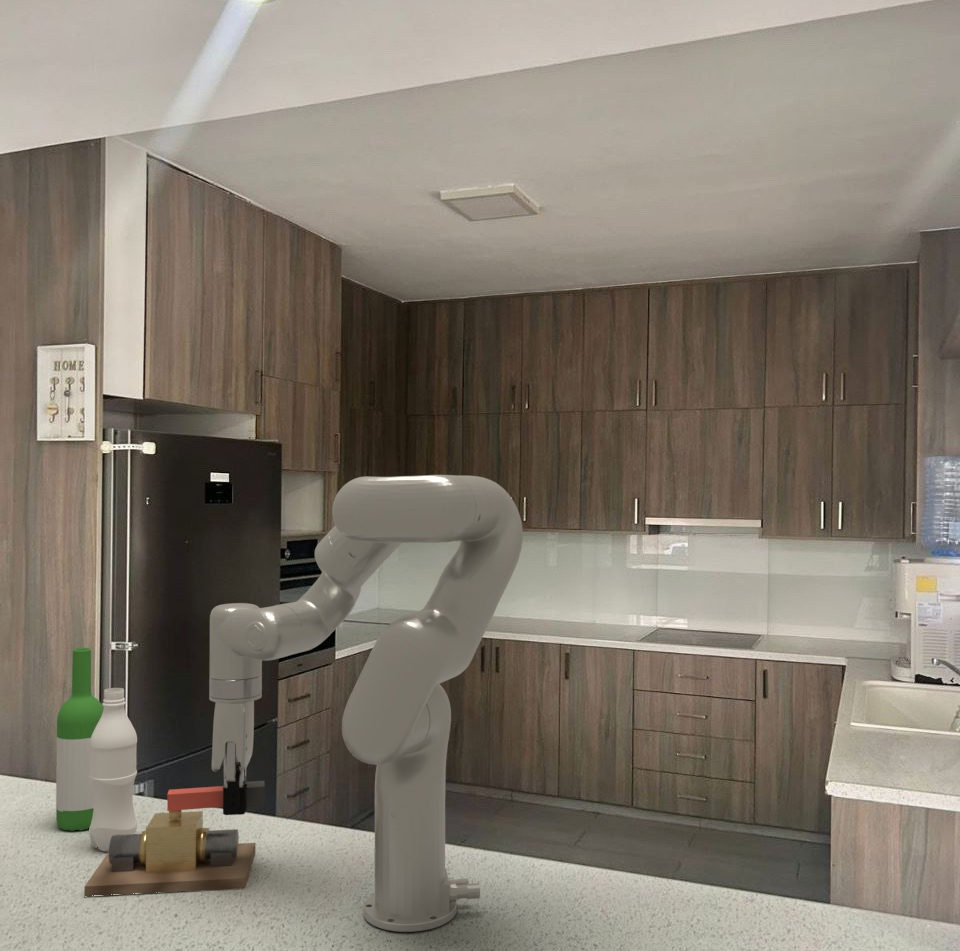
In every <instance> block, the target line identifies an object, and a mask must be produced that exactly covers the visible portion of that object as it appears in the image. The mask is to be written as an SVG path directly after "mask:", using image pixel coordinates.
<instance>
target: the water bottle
mask: <svg viewBox="0 0 960 951" xmlns="http://www.w3.org/2000/svg"><path fill="white" fill-rule="evenodd" d="M124 696H125V689H124V688H122V687H111V688H106V689H104V691H103V697H104V698H103V700H102V701H103V702H102V703H101V704H102V706H103V708H104V709H103V713H102V716H101V718H100V720H99V722H98V724H97V726H96V727H95V729H94V732H93V734H92V736H91V740H90V747H91V767H90V778H91V782H92V786H93V793H94V810H93V817H92V821H91V825H90V828H89V829H88V832H89V840H90V842H91V844H92V846H93V847H94V848H95V847H98V848H97V849H98V850H99V851H101V850H102V851H101V852H109V845H110V840H111V837H112V836H113V835H125V834H136V832H137V828H138V821H137V818H136V815H135V810H134V802H133V801H134V800H133V798H134V797H133V795H134V792H133V791H134V786H135V780H136V777H137V774H138V770H137V743H138V735H137V732H136V729H135V727H134V726H133V723H132V722H131V720H130V719H129V717H128V715H127V712H126V708H125V705H126V704H127V702H126V699H125V697H124Z"/></svg>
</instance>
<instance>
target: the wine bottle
mask: <svg viewBox="0 0 960 951" xmlns="http://www.w3.org/2000/svg"><path fill="white" fill-rule="evenodd" d="M71 664H72V673H71V674H72V675H71V678H72V679H71V680H72V681H71V684H72V685H71V695H70V697H69V698H68V699H67V700H66V701H65V702H64V703H63V704H62V705H61V707H60V709H59V711H58V714H57V717H56V718H57V719H56V767H55V768H56V770H55V771H56V773H55V774H56V775H55V776H56V788H55V791H56V794H55V795H56V796H55V799H56V800H55V802H56V804H55V806H56V808H55V809H56V810H55V811H56V814H55V816H56V817H55V820H56V825H57V827H58V828H59V829H61V830H64V831H68V830H69V831H70V832H76V831H75V830H79V831H83V830H84V829H86V830H89V829H88V828H90V825H91V821H92V817H93V810H94V793H93V786H92V782H91V778H90V767H91V747H90V740H91V736H92V734H93V732H94V729H95V727H96V726H97V724H98V722H99V720H100V718H101V716H102V713H103V709H104V706H102V703H101V701H100V700H99V699H98V698H96V697H95V696H94V695H93V694H92V650H91V648H90V647H77V648H74V649H72V663H71ZM69 831H68V832H69Z"/></svg>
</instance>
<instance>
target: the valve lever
mask: <svg viewBox="0 0 960 951" xmlns="http://www.w3.org/2000/svg"><path fill="white" fill-rule="evenodd" d="M265 783H266V782H265V780H256V781H255V780H254V781H246V783H244V784H247V809H249V808H250V809H251V808H263V807H264V808H265V806H266V805H265V803H266V802H265V799H266V798H265V793H266V792H265V790H266V789H265V788H266V787H265V786H266V785H265ZM223 787H224V785H221V786H220V785H219V786H218V785H217V786H207V787H206V786H205V787H202V786H201V787H191V788H189V787H188V788H177V789H168V791H167V795H166V796H167V799H166V800H167V806H166V808H167V809H166V810H167V812H168V813H169V819H179V818H181V812H183V811H184V810H185V811H188V810H199V809H211V808H214V809H215V808H223Z"/></svg>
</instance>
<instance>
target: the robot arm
mask: <svg viewBox="0 0 960 951" xmlns="http://www.w3.org/2000/svg"><path fill="white" fill-rule="evenodd" d="M331 512H332V514H331V515H332V520H333V524H334V526H333V527H332V528H331V529H330V530H329V531H328V532H327V533H326V534H325V535H324V537H323V538H322V539H321V540H320V541H319V542H318V543H317V544H316V547H315V549H314V560H315V562H316V565H317V566H318V568H319V570H320V571H321V574H320V575H319V577H317V579H316V581H315V582H314V583H313V584H312V586H311V587H310V588H309V589H308V590H307V591H306V592H305V593H304V594H303V595H302V596H301V597H300V598H299V599H298V600H297V601H293V602H287V603H280V604H275V605H272V606H267V607H259V606H258V605H256V604H253V603H248V602H238V603H237V602H236V603H235V602H234V603H224V604H219V605H216V606H214V607H213V609H211V611H210V615H209V680H208V682H209V684H208V685H209V692H208V693H209V695H208V696H209V697H208V699H209V701H211V702H214V703H215V705H214V711H213V712H214V714H213V726H212V728H213V729H212V745H211V746H212V749H211V750H212V751H211V770H212V771H213V772H215V773H216V772H218V770H220V769H221V767H222V765H223V786H224V787H223V807H222V814H223V815H224V816H236V815H240V816H241V815H245V814H246V811H247V809H248V808H247V784H244V783H246V782H247V767H248V765H249V763H250V762H251V758H252V756H253V750H254V738H255V736H254V735H255V734H254V733H255V730H254V728H255V701H257V700H260V699H261V698H262V696H263V695H262V694H263V693H262V691H263V685H262V684H263V683H262V682H263V680H262V679H263V671H262V668H263V661H273V660H278V659H281V658H285V657H288V656H289V657H290V656H292V655H296V654H299V653H303V652H308V651H311V650H313V649H314V648H316V647H318V646H319V645H321V644H322V643H323V642H324V641H326V640H327V639H328V637H330V636H331V634H332V633H333V632H334V631H335V630H336V629H337V628H339V626H340V625H341V624H342V623H343V622H344V621H345V620H346V619H347V617H349V615H350V614H351V612H352V611H353V609H354V607H355V606H356V604H357V601H358V598H359V596H360V594H361V591H362V590H361V589H362V586H363V585H364V584H365V583H366V582H367V581H368V579H370V578H371V576H372V575H373V574H374V573H375V572H376V571H377V569H379V568H380V567H381V566H382V564H384V563H385V561H386V560H387V559H388V558H389V557H390V556H391V555H392V554H393V553H394V552H395V551H396V550H397V548H399V547H400V546H401V544H403V543H420V544H421V543H422V544H423V543H424V544H425V543H428V544H429V543H433V544H435V543H437V544H438V543H442V544H443V543H450V542H451V543H452V542H459V541H460V543H459V545H458V548H457V550H456V551H455V553H454V554H453V556H452V557H451V559H450V560H449V561H448V563H447V564H446V566H445V567H444V569H443V570H442V572H441V574H440V576H439V579H438V580H437V584H436V586H435V587H434V589H433V591H432V593H431V594H430V597H429V599H428V601H427V602H426V604H424V606H423V608H422V609H420V610H419V611H417V612H414V613H410V614H407V615H404V616H401V617H398V618H397V619H395V620H394V621H392V622H391V623H390V624H389V625H387V627H386V628H385V629H384V630H383V631H382V632H381V634H380V635H379V636H378V638H377V640H376V641H375V643H374V644H373V647H372V649H371V651H370V653H369V656H368V658H367V659H366V662H365V664H364V666H363V668H362V669H361V672H360V673H359V676H358V679H357V681H356V683H355V685H354V688H353V689H352V691H351V693H350V696H349V698H348V700H347V702H346V705H345V708H344V711H343V714H342V719H341V721H342V722H341V732H342V734H341V735H342V739H343V741H344V744H345V746H346V748H347V750H348V751H349V753H350V754H351V755H352V757H354V758H355V759H357V760H358V761H360V762H362V763H365V764H367V765H376V767H375V768H376V769H375V778H374V779H375V780H374V893H372V894H371V895H370V896H368V897H367V898H366V899H365V901H364V902H363V905H362V915H363V917H364V919H365V920H366V922H368V923H369V924H370V925H372V926H374V927H376V928H377V929H378V928H379V929H382V930H385V931H390V932H397V933H399V932H400V933H415V932H422V931H427V930H428V931H429V930H432V929H436V928H438V927H440V926H443V925H445V924H447V923H449V922H450V921H451V920H452V919H453V918H454V917H455V916H456V914H457V913H458V912H457V910H458V908H457V907H458V905H457V904H458V903H457V902H458V900H461V899H463V900H464V899H466V900H473V899H474V900H475V899H477V900H478V899H481V886H480V883H479V882H478V883H477V882H476V883H475V882H474V883H472V882H471V883H470V881H469V878H468V877H467V878H457V879H452V877H449V876H448V872H447V868H446V770H447V768H446V767H447V754H448V745H449V739H450V732H451V726H452V725H451V724H452V708H451V702H450V700H449V697H448V694H447V692H446V690H445V689H444V688H443V686H442V685H441V684H442V683H444V682H446V681H448V680H451V679H453V678H456V677H457V676H460V675H461V674H462V673H463V672H464V671H465V670H467V668H468V667H469V665H470V664H471V662H472V660H473V658H474V656H475V654H476V652H477V649H478V648H479V645H480V643H481V641H482V639H483V637H484V635H485V633H486V630H487V629H488V627H489V624H490V623H491V621H492V618H493V617H494V615H495V611H496V609H497V607H498V605H499V603H500V600H501V599H502V596H503V594H504V593H505V590H506V588H507V587H508V584H509V582H510V581H511V578H512V577H513V574H514V572H515V570H516V567H517V565H518V563H519V559H520V556H521V552H522V548H523V547H522V546H523V538H524V537H523V536H524V535H523V534H524V533H523V532H524V531H523V524H522V523H523V522H522V518H521V515H520V512H519V510H518V507H517V505H516V503H515V502H514V500H513V498H512V497H511V495H510V494H509V492H507V490H506V489H504V487H502V486H501V485H500V484H498V483H497V482H496V481H493V480H491V479H489V478H486V477H484V476H483V477H482V476H477V475H455V474H451V475H450V474H429V475H428V474H427V475H424V474H423V475H401V476H400V475H399V476H367V475H365V476H358V477H356V478H353V479H351V480H349V481H348V482H347V483H344V485H343V486H342V487H341V488H340V490H339V491H338V492H337V493H336V496H335V498H334V500H333V504H332V508H331Z"/></svg>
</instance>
